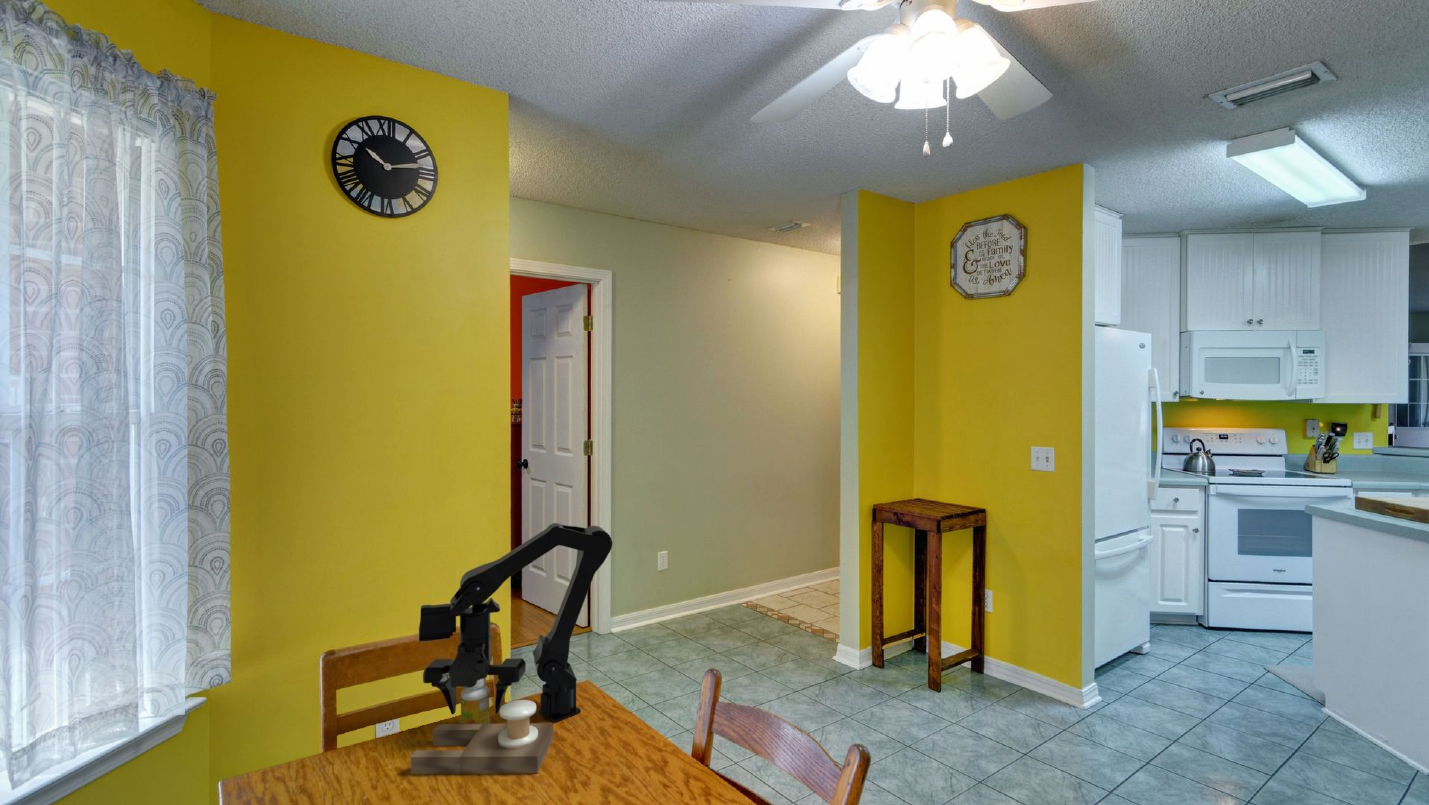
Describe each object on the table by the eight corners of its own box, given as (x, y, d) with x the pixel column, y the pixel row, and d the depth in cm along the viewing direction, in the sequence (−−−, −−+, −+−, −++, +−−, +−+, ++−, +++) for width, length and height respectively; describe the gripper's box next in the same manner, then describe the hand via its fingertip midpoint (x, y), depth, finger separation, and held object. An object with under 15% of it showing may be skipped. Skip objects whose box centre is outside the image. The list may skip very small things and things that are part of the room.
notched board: (553, 739, 131) (553, 723, 131) (537, 773, 119) (537, 756, 119) (437, 740, 130) (437, 724, 130) (410, 774, 118) (410, 757, 118)
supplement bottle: (454, 729, 135) (454, 680, 134) (475, 718, 139) (475, 670, 139) (474, 735, 132) (474, 685, 132) (495, 723, 137) (495, 675, 137)
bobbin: (525, 726, 129) (525, 695, 129) (545, 739, 125) (545, 707, 125) (491, 739, 124) (491, 707, 124) (510, 753, 120) (510, 720, 120)
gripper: (410, 650, 127) (410, 733, 127) (510, 649, 128) (510, 732, 128) (434, 630, 139) (434, 706, 139) (526, 629, 139) (526, 706, 139)
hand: (475, 713), depth 136 cm, fingers open, 8 cm apart
